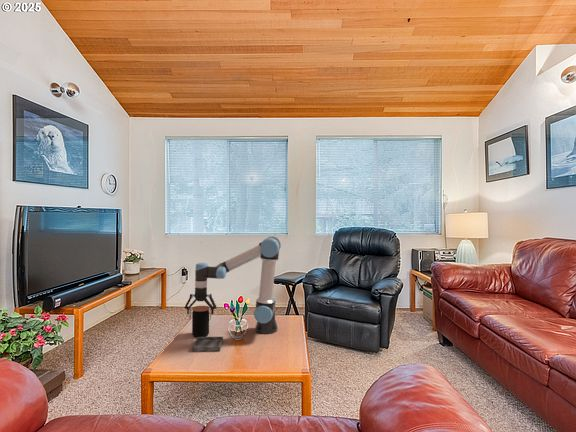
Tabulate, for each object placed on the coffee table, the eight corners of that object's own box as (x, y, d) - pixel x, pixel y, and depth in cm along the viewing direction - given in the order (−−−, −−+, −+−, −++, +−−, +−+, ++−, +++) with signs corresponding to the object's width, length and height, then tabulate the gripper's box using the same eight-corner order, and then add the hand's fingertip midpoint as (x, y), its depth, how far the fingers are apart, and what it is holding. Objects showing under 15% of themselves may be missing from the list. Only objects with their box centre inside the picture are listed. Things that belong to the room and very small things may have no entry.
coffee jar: (211, 332, 224) (211, 305, 224) (205, 338, 213) (206, 310, 213) (195, 331, 225) (196, 305, 225) (189, 337, 215) (189, 309, 214)
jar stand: (223, 340, 210) (223, 336, 210) (219, 351, 195) (219, 346, 195) (197, 341, 209) (197, 336, 209) (192, 351, 194) (192, 347, 194)
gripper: (221, 285, 223) (220, 317, 224) (182, 285, 222) (182, 317, 222) (219, 288, 216) (218, 321, 216) (180, 287, 214) (179, 321, 215)
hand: (200, 319), depth 219 cm, fingers open, 13 cm apart
